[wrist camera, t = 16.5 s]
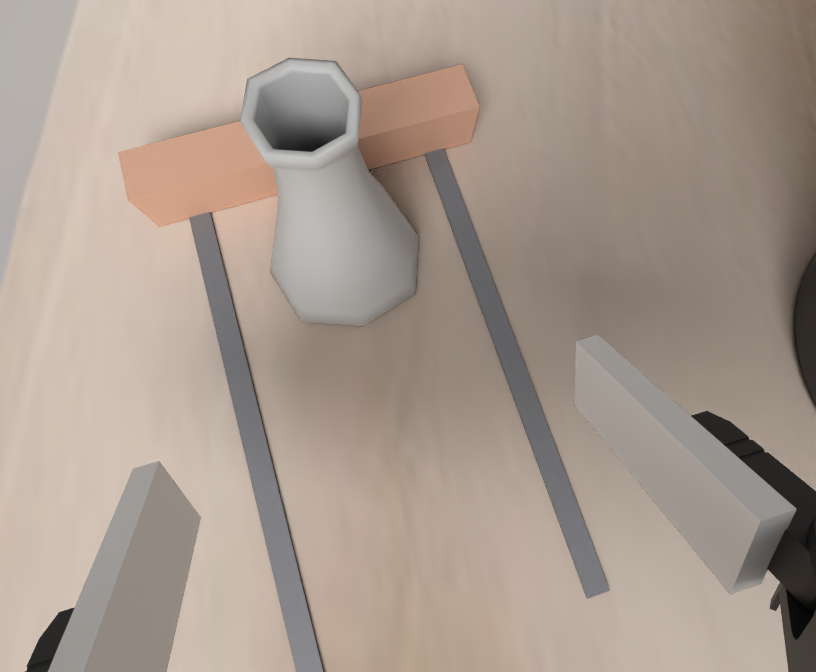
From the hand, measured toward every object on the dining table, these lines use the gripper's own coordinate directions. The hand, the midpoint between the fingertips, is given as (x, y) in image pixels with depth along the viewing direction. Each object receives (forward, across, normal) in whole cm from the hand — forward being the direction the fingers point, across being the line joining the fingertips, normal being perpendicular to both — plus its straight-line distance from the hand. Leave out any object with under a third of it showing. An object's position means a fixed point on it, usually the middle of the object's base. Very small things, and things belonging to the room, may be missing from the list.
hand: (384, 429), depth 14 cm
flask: (+10, 0, +2) cm, 10 cm away
